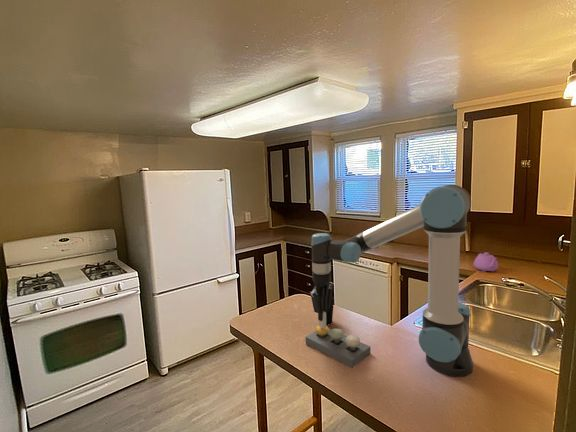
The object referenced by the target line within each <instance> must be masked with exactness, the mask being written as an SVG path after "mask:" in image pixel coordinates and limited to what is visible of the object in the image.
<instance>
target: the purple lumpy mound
mask: <svg viewBox="0 0 576 432" xmlns="http://www.w3.org/2000/svg"><path fill="white" fill-rule="evenodd" d="M473 266H474V267H475V269H476V270H480V271H481V272H482V273H485V272H491V273H494V272H495V271H496V270H498V268H499V262H498V261H497V257H495V256H494V255H493V254H490V252H487V251H486V252H483V253H478V255H477V256H476V257H475V259H474V260H473Z"/></svg>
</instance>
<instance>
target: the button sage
mask: <svg viewBox="0 0 576 432" xmlns="http://www.w3.org/2000/svg"><path fill="white" fill-rule="evenodd" d="M343 335H344V330H343V329H340V328H331V331H330V337H331V338H333V339H334V343H336V344H338V343H340V339H342V338H343Z"/></svg>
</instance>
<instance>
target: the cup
mask: <svg viewBox="0 0 576 432" xmlns="http://www.w3.org/2000/svg"><path fill="white" fill-rule="evenodd" d="M334 304H335V298H334V296H333V295H332V297H331V305H330V309H328V310H329V312H327V318H326V326H329V325H328V324H330V325H332V324H333V313H334V306H335V305H334ZM327 305H328V304H327ZM331 323H332V324H331Z"/></svg>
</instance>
